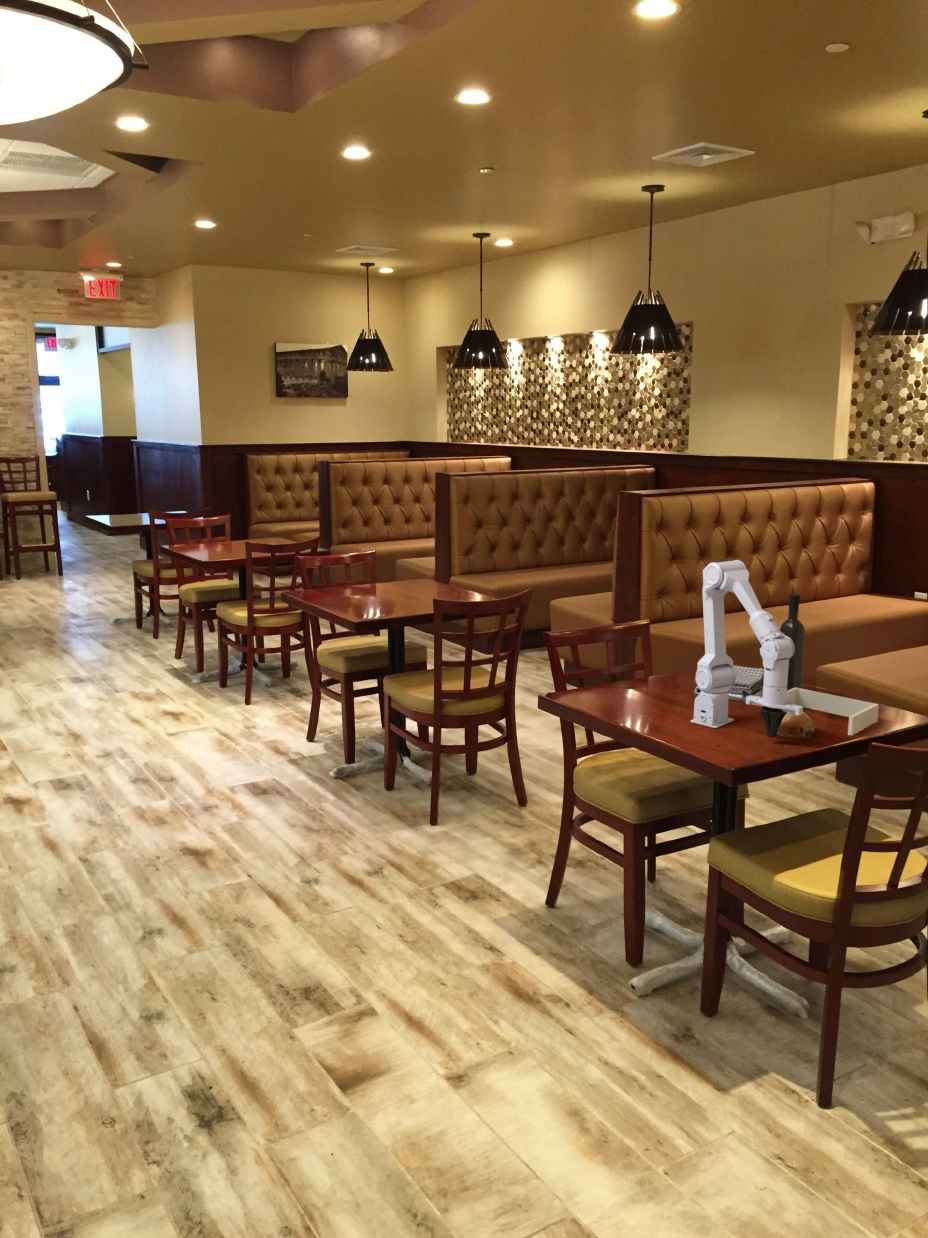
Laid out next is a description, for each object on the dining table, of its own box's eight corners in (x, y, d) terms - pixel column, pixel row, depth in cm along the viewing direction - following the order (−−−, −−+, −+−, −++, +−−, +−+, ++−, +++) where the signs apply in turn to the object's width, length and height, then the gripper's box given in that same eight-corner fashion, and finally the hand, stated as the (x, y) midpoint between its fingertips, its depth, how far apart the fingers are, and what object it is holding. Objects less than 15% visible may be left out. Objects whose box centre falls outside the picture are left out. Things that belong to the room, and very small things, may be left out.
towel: (710, 684, 306) (711, 660, 304) (769, 693, 296) (771, 668, 294) (692, 696, 294) (693, 670, 292) (753, 706, 284) (755, 679, 282)
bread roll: (803, 741, 264) (798, 711, 266) (824, 736, 254) (819, 705, 256) (770, 744, 262) (765, 714, 264) (789, 739, 252) (784, 708, 254)
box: (851, 735, 256) (852, 717, 255) (766, 716, 273) (767, 698, 272) (877, 722, 268) (878, 704, 266) (794, 704, 284) (795, 687, 283)
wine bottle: (774, 694, 294) (780, 594, 288) (785, 690, 298) (791, 592, 292) (790, 698, 290) (796, 597, 284) (802, 695, 293) (808, 595, 287)
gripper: (810, 687, 246) (806, 739, 249) (756, 676, 256) (754, 726, 259) (796, 692, 241) (793, 746, 244) (742, 681, 251) (740, 732, 254)
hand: (772, 736), depth 251 cm, fingers closed
